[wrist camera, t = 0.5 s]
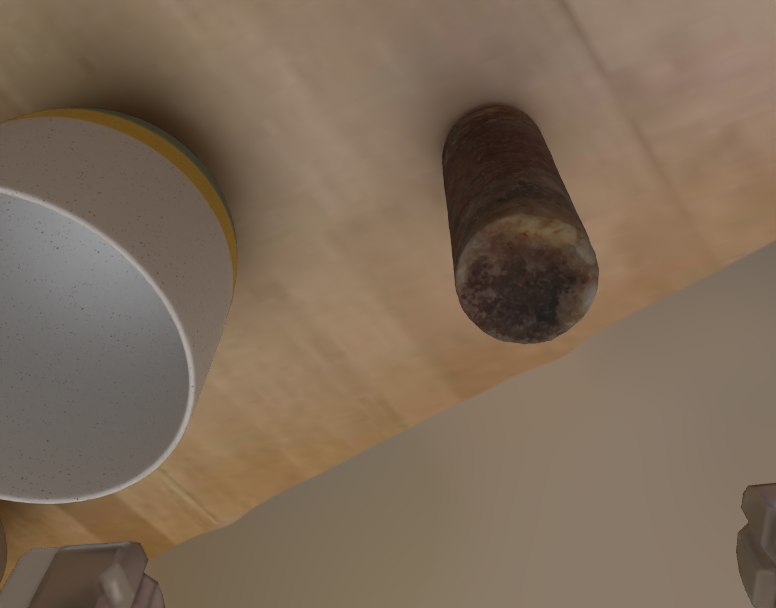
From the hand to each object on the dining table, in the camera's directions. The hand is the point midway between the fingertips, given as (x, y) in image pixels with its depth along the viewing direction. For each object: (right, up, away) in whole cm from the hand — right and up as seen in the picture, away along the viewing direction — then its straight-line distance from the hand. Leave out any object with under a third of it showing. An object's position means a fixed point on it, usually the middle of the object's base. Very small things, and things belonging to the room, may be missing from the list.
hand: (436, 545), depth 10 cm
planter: (-20, +11, +46) cm, 51 cm away
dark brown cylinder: (+7, +14, +44) cm, 46 cm away
